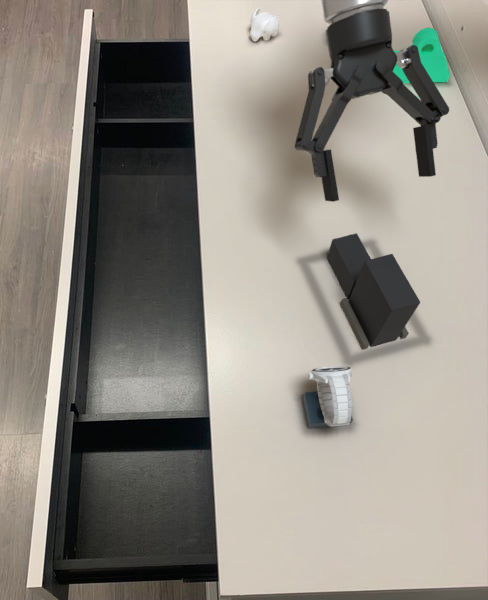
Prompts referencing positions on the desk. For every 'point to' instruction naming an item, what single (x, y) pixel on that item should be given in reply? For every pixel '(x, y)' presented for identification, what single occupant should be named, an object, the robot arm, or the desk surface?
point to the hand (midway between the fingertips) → (380, 188)
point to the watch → (329, 398)
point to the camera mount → (428, 56)
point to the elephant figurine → (263, 25)
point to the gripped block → (382, 300)
